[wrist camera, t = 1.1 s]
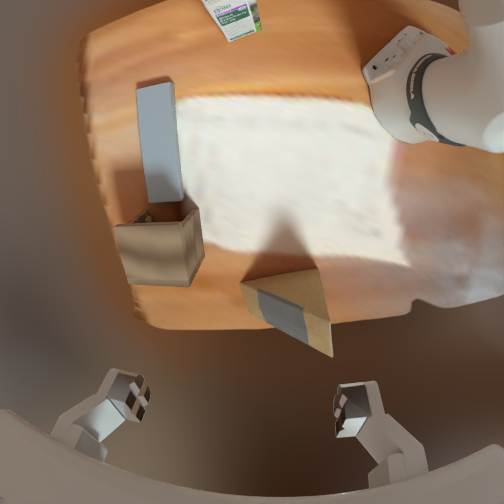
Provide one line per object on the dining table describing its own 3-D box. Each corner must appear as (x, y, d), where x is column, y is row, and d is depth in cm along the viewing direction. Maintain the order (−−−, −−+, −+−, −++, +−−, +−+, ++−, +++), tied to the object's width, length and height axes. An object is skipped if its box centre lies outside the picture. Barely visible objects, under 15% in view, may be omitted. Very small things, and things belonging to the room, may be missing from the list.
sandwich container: (237, 280, 52) (224, 335, 38) (317, 266, 49) (330, 320, 36) (249, 314, 55) (241, 370, 42) (323, 302, 52) (333, 358, 39)
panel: (142, 90, 37) (136, 89, 35) (175, 83, 36) (169, 81, 34) (154, 199, 46) (148, 203, 44) (185, 196, 45) (180, 200, 43)
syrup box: (228, 43, 32) (206, 10, 19) (214, 18, 30) (187, -20, 17) (262, 30, 31) (255, -9, 18) (246, 4, 29) (233, -38, 16)
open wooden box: (141, 205, 46) (113, 227, 37) (198, 202, 45) (178, 224, 36) (151, 255, 51) (128, 284, 42) (204, 256, 50) (189, 287, 41)
